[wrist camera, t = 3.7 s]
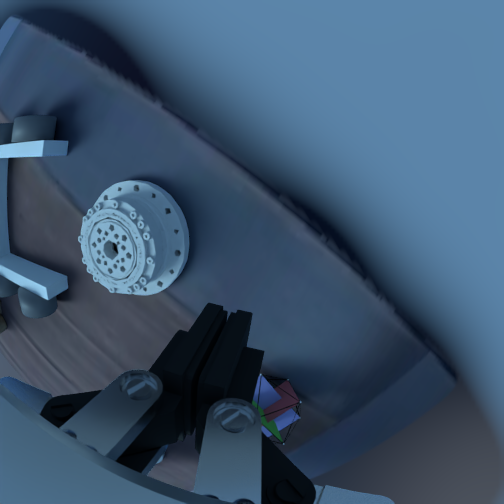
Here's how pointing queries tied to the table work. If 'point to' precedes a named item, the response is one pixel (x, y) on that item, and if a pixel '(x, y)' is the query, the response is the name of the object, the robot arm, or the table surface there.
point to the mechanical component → (135, 238)
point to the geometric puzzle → (275, 406)
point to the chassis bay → (3, 262)
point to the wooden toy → (2, 322)
